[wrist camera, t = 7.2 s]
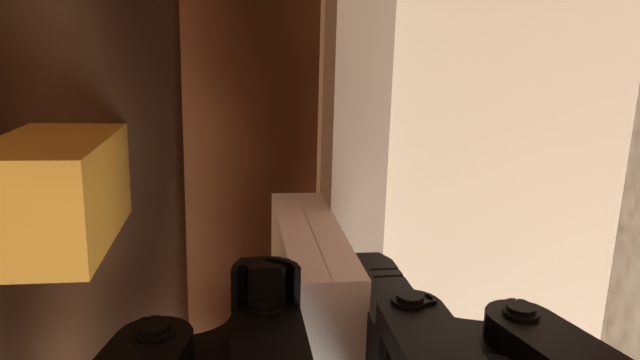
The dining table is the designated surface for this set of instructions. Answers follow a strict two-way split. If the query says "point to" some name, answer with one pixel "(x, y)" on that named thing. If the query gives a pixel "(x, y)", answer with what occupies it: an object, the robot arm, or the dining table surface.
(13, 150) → the block
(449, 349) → the robot arm
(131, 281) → the wooden organizer rack
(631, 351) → the dining table surface
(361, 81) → the lid
